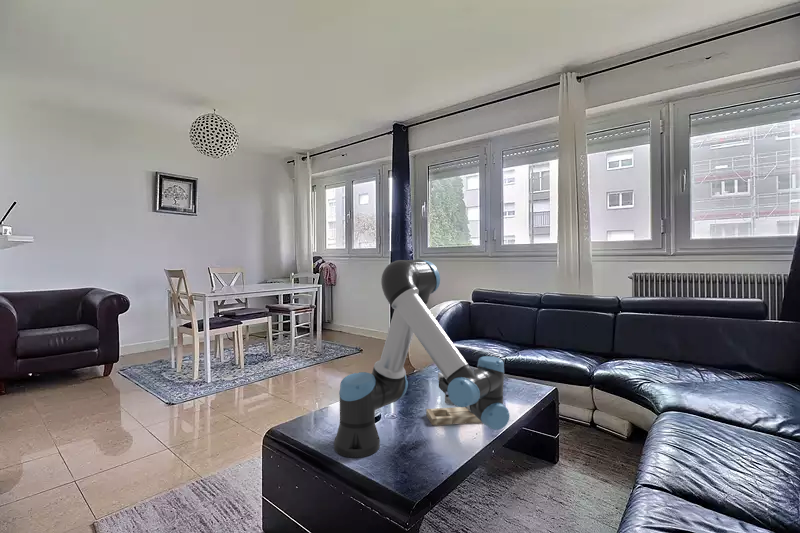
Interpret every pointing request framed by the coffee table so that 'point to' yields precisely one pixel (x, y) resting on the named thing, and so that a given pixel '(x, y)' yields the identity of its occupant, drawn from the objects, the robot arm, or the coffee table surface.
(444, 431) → the coffee table surface
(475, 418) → the wooden tray
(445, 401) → the salt shaker
